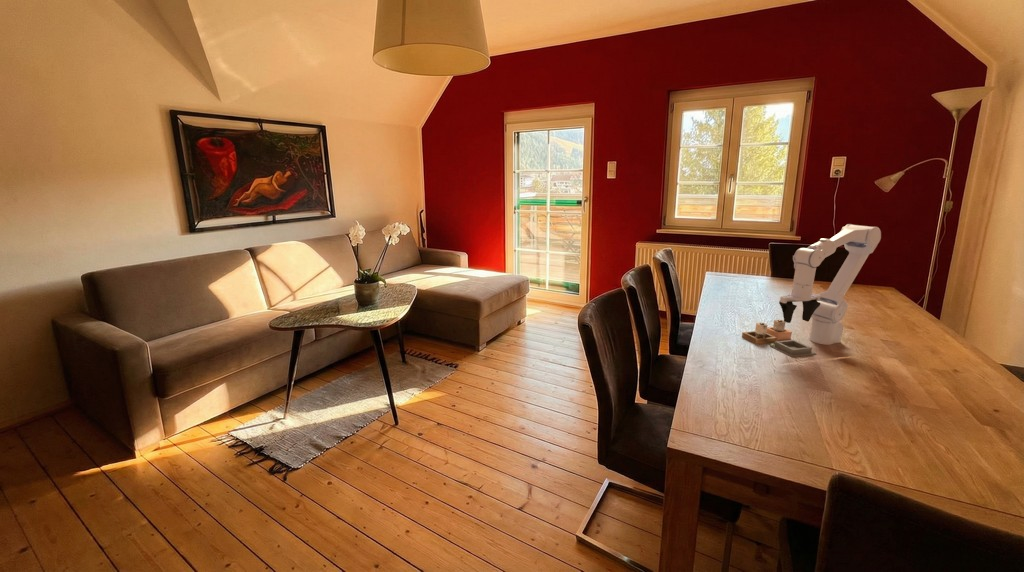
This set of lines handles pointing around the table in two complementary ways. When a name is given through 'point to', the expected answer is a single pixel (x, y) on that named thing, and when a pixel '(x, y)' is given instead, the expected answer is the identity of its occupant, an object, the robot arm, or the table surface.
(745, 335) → the brown square tray
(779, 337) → the orange square box
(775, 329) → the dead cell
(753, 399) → the table surface
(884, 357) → the table surface
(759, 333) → the cell
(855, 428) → the table surface
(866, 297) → the table surface
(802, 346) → the cradle
